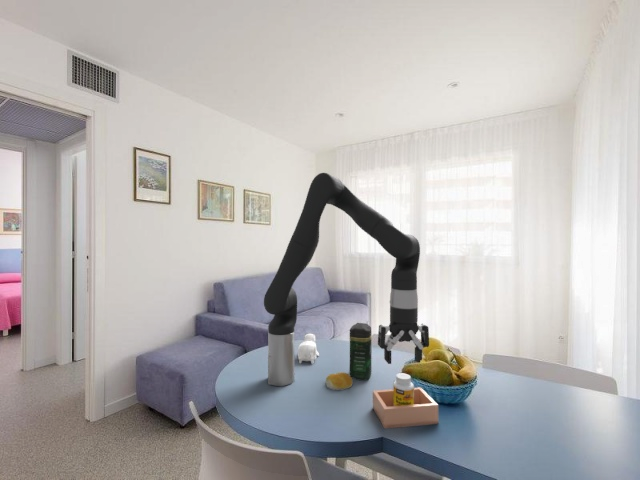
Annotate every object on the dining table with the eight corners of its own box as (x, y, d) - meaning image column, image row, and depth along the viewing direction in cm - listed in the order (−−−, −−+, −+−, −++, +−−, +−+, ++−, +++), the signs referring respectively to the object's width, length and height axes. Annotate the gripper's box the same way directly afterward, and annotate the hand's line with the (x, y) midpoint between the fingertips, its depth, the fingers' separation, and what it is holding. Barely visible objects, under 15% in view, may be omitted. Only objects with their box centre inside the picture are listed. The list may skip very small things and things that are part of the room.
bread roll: (356, 387, 102) (356, 375, 102) (333, 393, 98) (333, 381, 98) (343, 377, 109) (343, 366, 109) (321, 383, 105) (321, 371, 105)
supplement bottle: (392, 416, 83) (392, 378, 83) (394, 405, 88) (393, 370, 88) (414, 419, 81) (413, 381, 81) (414, 408, 86) (413, 373, 86)
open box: (384, 428, 78) (384, 409, 78) (372, 407, 88) (372, 390, 88) (438, 423, 80) (438, 404, 80) (421, 404, 90) (420, 387, 90)
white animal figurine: (317, 370, 122) (320, 345, 136) (316, 353, 119) (319, 329, 133) (296, 369, 123) (301, 344, 137) (295, 352, 120) (300, 329, 134)
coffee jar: (370, 382, 105) (369, 329, 105) (347, 379, 107) (347, 327, 107) (373, 371, 114) (372, 322, 114) (352, 368, 116) (352, 320, 116)
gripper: (384, 308, 80) (383, 369, 80) (434, 307, 82) (433, 366, 82) (375, 302, 87) (374, 358, 87) (421, 301, 89) (420, 356, 89)
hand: (403, 362), depth 85 cm, fingers open, 8 cm apart
